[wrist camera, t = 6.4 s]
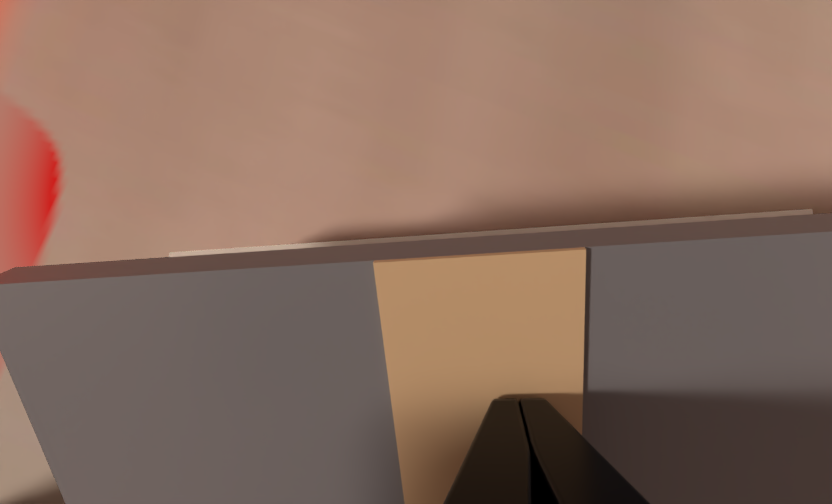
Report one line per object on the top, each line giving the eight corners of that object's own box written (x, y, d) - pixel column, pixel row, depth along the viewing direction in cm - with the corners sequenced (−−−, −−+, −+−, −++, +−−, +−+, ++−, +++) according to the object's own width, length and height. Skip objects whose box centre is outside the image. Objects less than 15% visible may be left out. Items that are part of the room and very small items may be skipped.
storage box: (783, 526, 13) (893, 588, 10) (224, 531, 15) (150, 586, 12) (732, 241, 15) (811, 209, 12) (232, 272, 17) (169, 252, 13)
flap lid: (906, 596, 10) (948, 645, 9) (141, 592, 11) (116, 634, 10) (1036, 199, 7) (1118, 216, 6) (14, 267, 9) (-33, 288, 8)
